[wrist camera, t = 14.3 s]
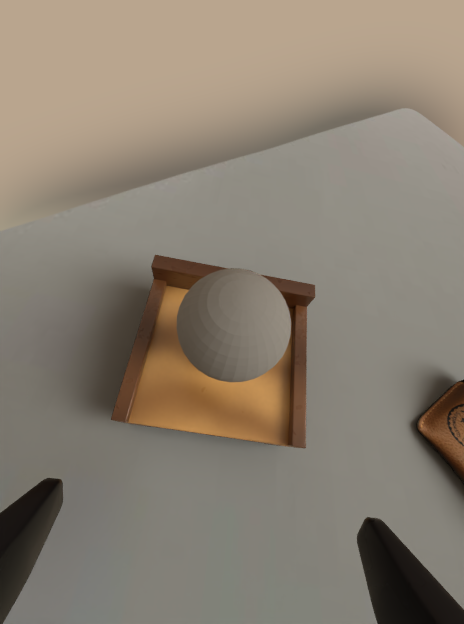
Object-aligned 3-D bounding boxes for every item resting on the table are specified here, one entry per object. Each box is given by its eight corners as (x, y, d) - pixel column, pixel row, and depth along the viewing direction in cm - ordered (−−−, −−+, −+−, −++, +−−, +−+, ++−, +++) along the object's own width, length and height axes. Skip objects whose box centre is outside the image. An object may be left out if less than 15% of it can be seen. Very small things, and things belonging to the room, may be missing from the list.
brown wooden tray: (287, 446, 21) (316, 449, 16) (123, 422, 20) (102, 418, 16) (292, 313, 27) (315, 284, 22) (162, 289, 26) (155, 254, 21)
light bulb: (229, 417, 19) (264, 399, 10) (164, 366, 20) (141, 306, 11) (272, 352, 21) (332, 291, 12) (213, 309, 22) (228, 223, 13)
